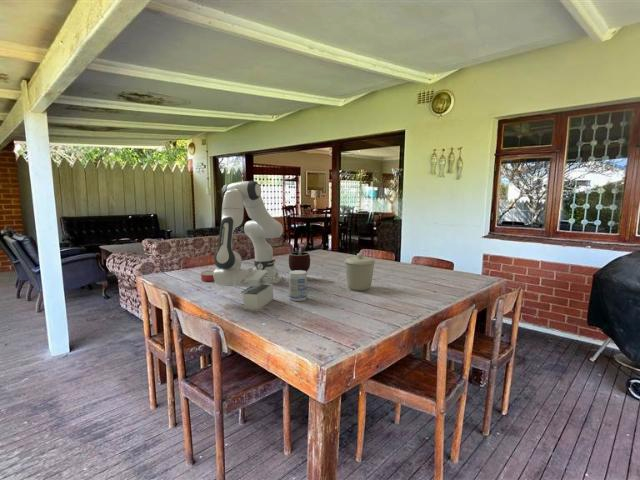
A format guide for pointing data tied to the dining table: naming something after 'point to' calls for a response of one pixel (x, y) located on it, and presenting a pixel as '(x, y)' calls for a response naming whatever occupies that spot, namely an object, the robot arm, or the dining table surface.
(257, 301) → the beige open box
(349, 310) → the dining table surface
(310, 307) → the dining table surface
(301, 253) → the brown utensil pot
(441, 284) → the dining table surface
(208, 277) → the frying pan
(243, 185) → the robot arm
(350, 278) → the canister
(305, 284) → the supplement tub
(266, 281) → the cover
